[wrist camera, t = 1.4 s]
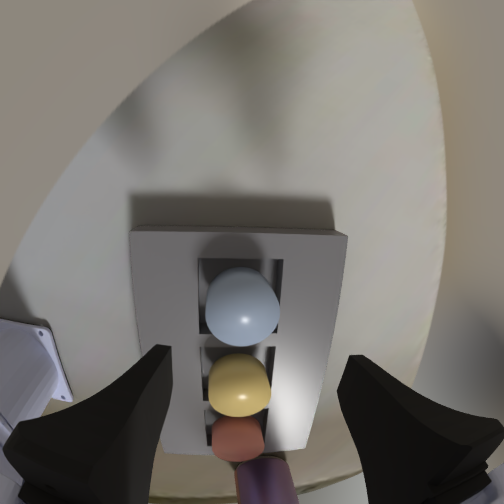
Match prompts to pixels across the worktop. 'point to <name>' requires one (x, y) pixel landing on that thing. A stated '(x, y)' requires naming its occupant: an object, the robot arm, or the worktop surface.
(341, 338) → the worktop surface
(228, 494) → the worktop surface
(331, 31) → the worktop surface
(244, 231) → the panel
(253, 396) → the ochre button
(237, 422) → the brick button
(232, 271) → the slate button
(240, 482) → the beverage can
